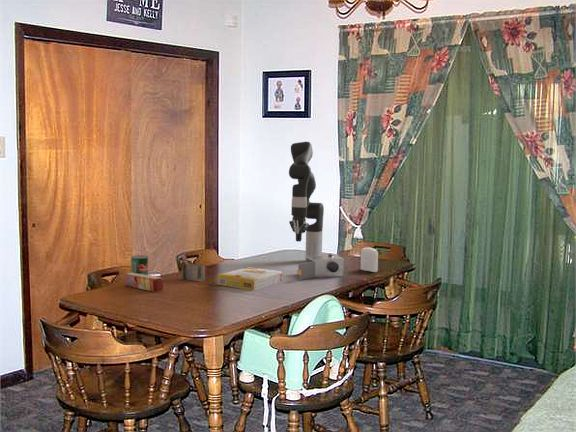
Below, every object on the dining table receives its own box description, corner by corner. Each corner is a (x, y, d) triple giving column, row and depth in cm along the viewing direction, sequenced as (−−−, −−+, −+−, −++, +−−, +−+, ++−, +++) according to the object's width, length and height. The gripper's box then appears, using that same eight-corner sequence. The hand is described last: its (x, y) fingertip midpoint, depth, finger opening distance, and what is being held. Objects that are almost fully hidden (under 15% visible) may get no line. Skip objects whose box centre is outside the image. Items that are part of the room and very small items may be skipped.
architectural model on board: (181, 280, 346) (181, 260, 345) (185, 279, 348) (185, 259, 347) (201, 282, 340) (201, 262, 339) (204, 281, 343) (204, 261, 342)
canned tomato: (144, 281, 339) (144, 258, 338) (128, 280, 340) (128, 257, 339) (150, 278, 347) (150, 255, 345) (135, 277, 348) (135, 254, 347)
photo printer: (359, 269, 380) (359, 246, 379) (364, 269, 383) (365, 246, 381) (373, 272, 372) (373, 249, 371) (378, 271, 375) (379, 248, 374)
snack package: (123, 286, 326) (122, 272, 326) (134, 284, 331) (134, 270, 331) (152, 293, 313) (152, 278, 312) (164, 291, 318) (164, 276, 317)
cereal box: (216, 274, 331) (247, 265, 356) (216, 286, 332) (247, 276, 356) (254, 279, 322) (283, 270, 347) (254, 292, 322) (283, 281, 347)
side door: (313, 276, 356) (314, 261, 355) (316, 277, 355) (316, 261, 354) (297, 280, 347) (297, 264, 346) (299, 280, 346) (300, 264, 345)
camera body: (305, 272, 368) (305, 253, 367) (334, 271, 373) (335, 252, 372) (314, 278, 354) (315, 258, 353) (344, 276, 359) (345, 257, 358)
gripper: (284, 205, 350) (284, 240, 351) (301, 207, 339) (301, 243, 341) (296, 204, 354) (296, 239, 356) (313, 206, 344) (313, 242, 346)
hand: (298, 241), depth 349 cm, fingers closed
